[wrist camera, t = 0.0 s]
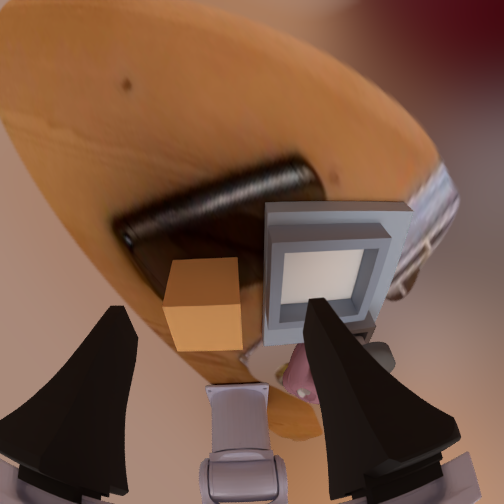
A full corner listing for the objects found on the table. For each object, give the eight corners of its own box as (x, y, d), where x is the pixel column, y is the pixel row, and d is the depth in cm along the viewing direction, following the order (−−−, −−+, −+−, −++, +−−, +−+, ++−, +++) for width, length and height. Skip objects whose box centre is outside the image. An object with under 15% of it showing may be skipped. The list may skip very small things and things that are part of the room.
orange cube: (239, 302, 25) (242, 349, 21) (183, 304, 24) (177, 351, 20) (237, 256, 22) (240, 304, 18) (172, 259, 21) (162, 306, 17)
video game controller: (282, 336, 30) (272, 398, 27) (310, 329, 27) (301, 399, 23) (342, 354, 34) (336, 406, 30) (369, 349, 30) (364, 406, 27)
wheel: (372, 352, 25) (383, 382, 22) (325, 359, 25) (333, 393, 22) (388, 319, 22) (404, 352, 19) (336, 326, 22) (348, 364, 19)
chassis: (365, 323, 28) (376, 348, 25) (262, 334, 27) (265, 363, 24) (404, 202, 20) (427, 225, 17) (264, 202, 19) (271, 228, 16)
